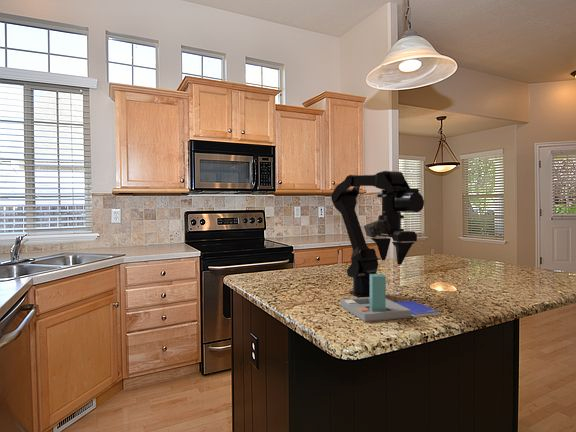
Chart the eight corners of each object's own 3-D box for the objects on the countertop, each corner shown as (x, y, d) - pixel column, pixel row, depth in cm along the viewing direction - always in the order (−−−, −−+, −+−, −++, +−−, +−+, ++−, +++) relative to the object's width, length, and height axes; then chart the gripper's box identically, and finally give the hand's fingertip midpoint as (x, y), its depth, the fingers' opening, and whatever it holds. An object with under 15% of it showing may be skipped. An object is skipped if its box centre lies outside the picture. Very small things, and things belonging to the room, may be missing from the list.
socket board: (340, 305, 111) (340, 298, 111) (381, 302, 115) (381, 295, 115) (364, 321, 96) (364, 313, 96) (411, 317, 99) (411, 309, 99)
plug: (369, 312, 103) (369, 273, 103) (382, 312, 103) (382, 273, 103) (372, 316, 99) (372, 276, 99) (385, 316, 99) (385, 276, 99)
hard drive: (440, 310, 102) (413, 300, 114) (415, 313, 100) (390, 302, 112) (440, 316, 102) (413, 305, 114) (415, 319, 100) (390, 307, 112)
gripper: (354, 211, 119) (354, 259, 119) (383, 212, 101) (383, 268, 101) (384, 211, 122) (384, 257, 122) (418, 212, 104) (418, 266, 104)
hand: (391, 262), depth 113 cm, fingers open, 9 cm apart
